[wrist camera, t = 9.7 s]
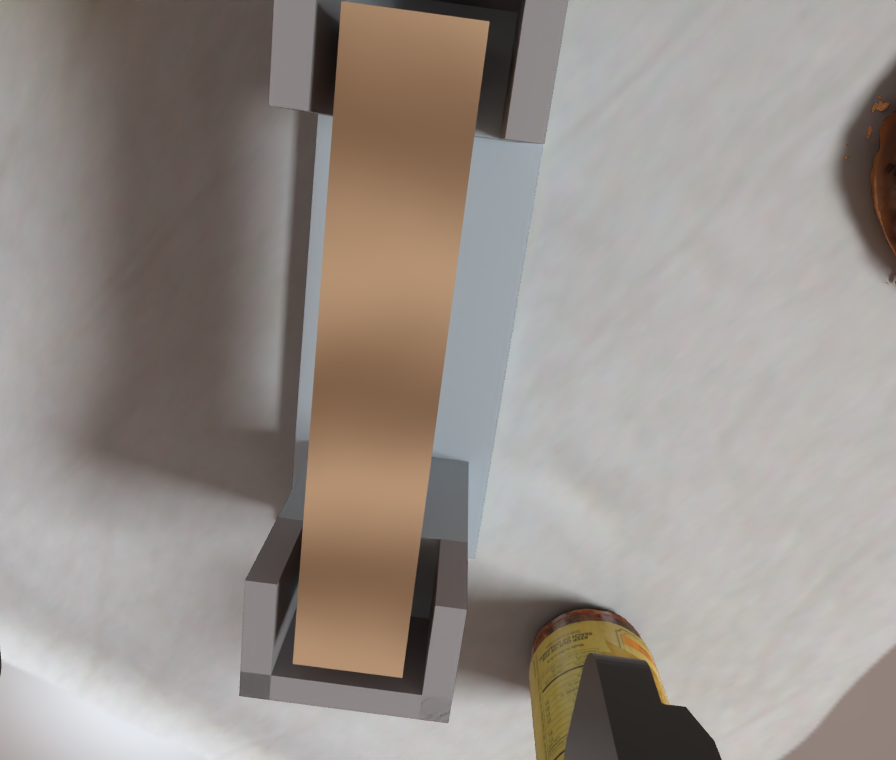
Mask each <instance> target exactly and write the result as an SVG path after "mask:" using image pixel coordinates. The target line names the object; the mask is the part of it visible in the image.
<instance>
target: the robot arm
mask: <svg viewBox="0 0 896 760" xmlns="http://www.w3.org/2000/svg"><path fill="white" fill-rule="evenodd" d="M0 674H1V653H0ZM564 760H721V757H720V754H719V752H718V749H717V747H716V744H715V742H714V740H713V739H712V738H711V737H710V735H709V734H708V733H707V732H706V731H705V729H704V728H703V727H702V726H701V725H700V723H699V722H698V721H697V720H696V719H695V717H694V716H693V715H692V714H691V713H690V712H689V710H688V709H687V708H686V707H682V706H674V705H667V704H662V703H661V699H660V696H659V693H658V690H657V687H656V684H655V681H654V678H653V675H652V672H651V669H650V666H649V664H648V663H647V662H646V661H645V660H641V659H633V658H626V657H618V656H611V655H603V654H596V653H589V654H588V655H587V657H586V660H585V662H584V666H583V670H582V675H581V679H580V683H579V688H578V692H577V696H576V701H575V705H574V709H573V714H572V718H571V723H570V727H569V731H568V736H567V740H566V746H565V754H564Z"/></svg>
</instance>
